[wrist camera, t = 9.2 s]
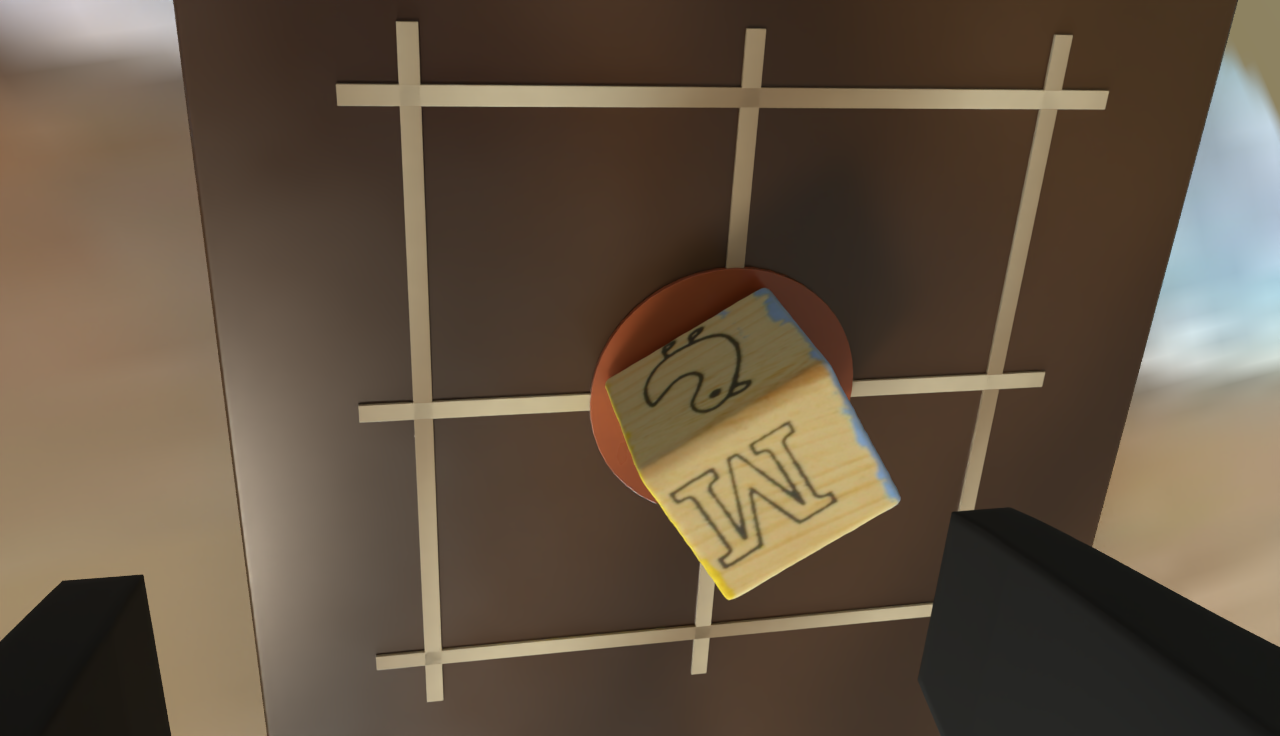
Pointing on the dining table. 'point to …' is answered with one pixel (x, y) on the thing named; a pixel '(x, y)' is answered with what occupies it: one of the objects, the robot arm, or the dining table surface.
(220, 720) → the dining table surface
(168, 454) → the dining table surface
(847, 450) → the alphabet block
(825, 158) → the board
